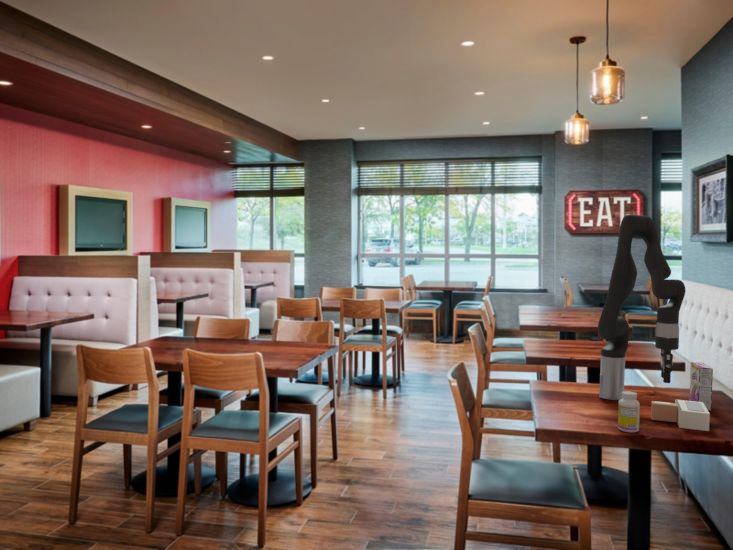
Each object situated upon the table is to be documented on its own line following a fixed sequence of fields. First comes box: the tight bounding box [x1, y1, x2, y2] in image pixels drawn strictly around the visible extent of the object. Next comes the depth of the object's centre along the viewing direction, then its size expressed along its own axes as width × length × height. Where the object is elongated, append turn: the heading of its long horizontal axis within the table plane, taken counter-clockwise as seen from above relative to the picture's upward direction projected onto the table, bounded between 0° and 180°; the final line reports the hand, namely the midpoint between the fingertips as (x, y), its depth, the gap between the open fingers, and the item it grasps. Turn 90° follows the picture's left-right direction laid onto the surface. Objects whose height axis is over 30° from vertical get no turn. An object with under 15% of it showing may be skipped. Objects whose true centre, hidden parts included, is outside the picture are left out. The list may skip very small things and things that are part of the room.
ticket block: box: [674, 399, 711, 432], centre depth 215 cm, size 9×16×6 cm, turn 159°
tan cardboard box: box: [650, 400, 677, 423], centre depth 218 cm, size 8×4×6 cm, turn 68°
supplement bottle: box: [617, 390, 641, 433], centre depth 206 cm, size 7×7×13 cm
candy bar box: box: [688, 361, 714, 411], centre depth 237 cm, size 11×5×16 cm, turn 168°
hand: (665, 380), depth 218 cm, fingers open, 8 cm apart
